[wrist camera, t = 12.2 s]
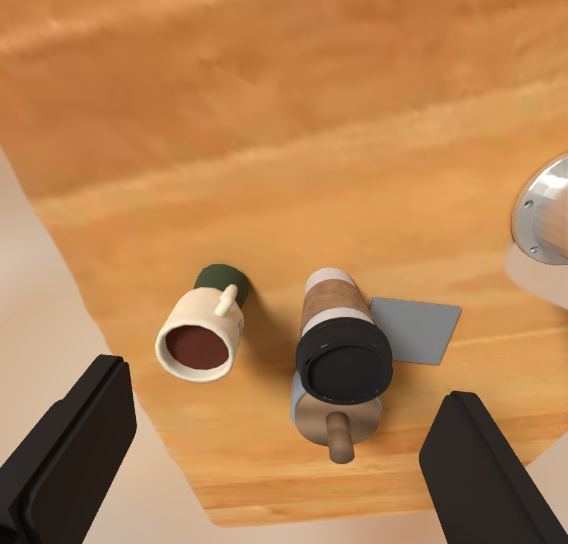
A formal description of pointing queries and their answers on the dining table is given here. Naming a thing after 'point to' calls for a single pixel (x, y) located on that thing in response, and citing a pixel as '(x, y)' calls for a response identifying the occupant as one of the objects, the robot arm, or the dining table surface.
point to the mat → (415, 328)
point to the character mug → (205, 327)
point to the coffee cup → (341, 343)
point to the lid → (336, 425)
